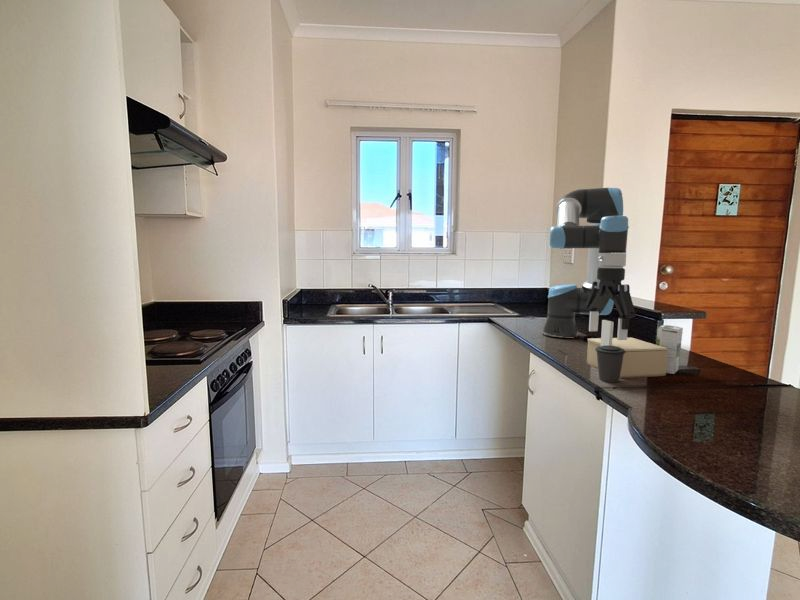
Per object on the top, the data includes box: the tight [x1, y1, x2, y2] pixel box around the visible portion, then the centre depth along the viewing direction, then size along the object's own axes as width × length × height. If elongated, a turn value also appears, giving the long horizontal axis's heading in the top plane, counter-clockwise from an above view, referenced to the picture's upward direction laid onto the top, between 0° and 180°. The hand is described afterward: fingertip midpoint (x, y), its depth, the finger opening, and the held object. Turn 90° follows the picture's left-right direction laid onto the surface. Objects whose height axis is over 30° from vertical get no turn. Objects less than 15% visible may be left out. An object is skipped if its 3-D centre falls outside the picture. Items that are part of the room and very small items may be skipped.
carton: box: [586, 340, 668, 379], centre depth 129 cm, size 16×16×8 cm
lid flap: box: [587, 319, 667, 351], centre depth 128 cm, size 15×17×9 cm
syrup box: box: [655, 324, 684, 375], centre depth 127 cm, size 6×6×14 cm
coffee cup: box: [595, 346, 626, 383], centre depth 118 cm, size 8×8×10 cm
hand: (606, 335), depth 124 cm, fingers open, 13 cm apart
